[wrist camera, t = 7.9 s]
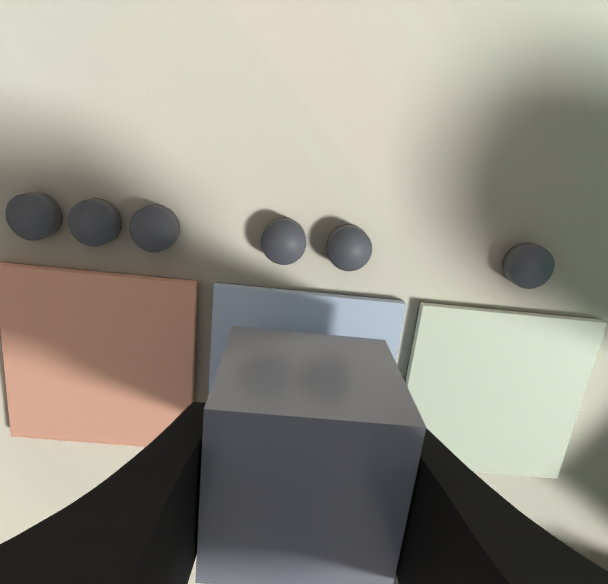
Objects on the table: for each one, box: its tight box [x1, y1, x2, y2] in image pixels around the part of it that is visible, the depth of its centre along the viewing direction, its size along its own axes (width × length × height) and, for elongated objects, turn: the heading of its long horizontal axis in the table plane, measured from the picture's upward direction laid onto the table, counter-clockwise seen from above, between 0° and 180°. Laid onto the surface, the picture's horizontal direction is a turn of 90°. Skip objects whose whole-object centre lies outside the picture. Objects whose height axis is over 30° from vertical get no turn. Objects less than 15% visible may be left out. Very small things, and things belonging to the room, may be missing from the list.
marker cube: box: [196, 326, 426, 584], centre depth 11 cm, size 4×4×4 cm
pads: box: [0, 193, 607, 479], centre depth 14 cm, size 8×18×1 cm, turn 84°
